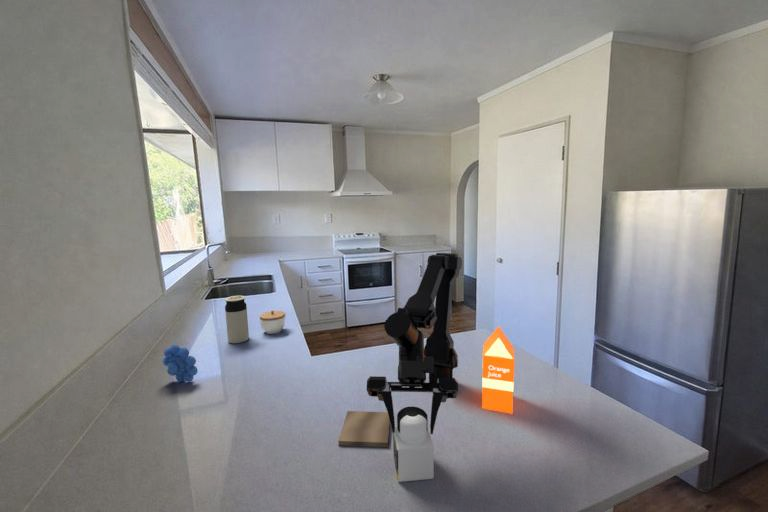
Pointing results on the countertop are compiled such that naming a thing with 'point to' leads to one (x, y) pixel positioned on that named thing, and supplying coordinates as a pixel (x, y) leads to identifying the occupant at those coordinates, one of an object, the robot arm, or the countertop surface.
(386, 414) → the walnut board
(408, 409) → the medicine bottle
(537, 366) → the countertop surface
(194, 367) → the grapes
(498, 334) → the orange juice
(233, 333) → the travel mug
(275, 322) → the lidded jar
